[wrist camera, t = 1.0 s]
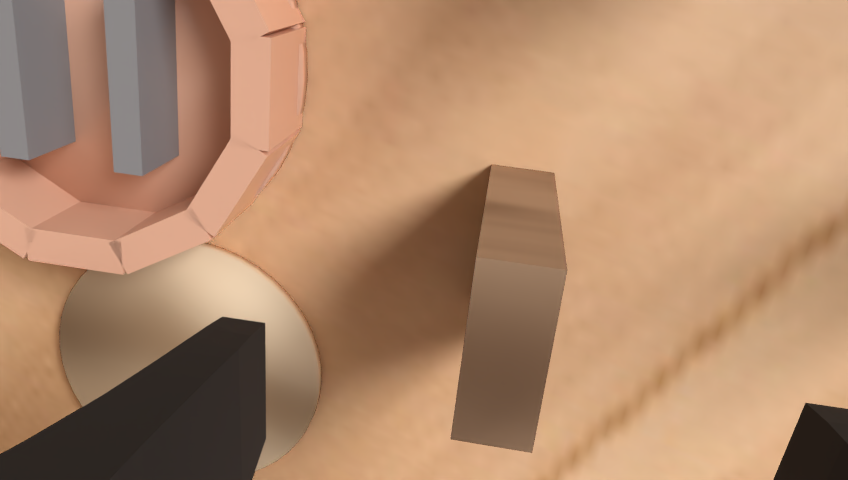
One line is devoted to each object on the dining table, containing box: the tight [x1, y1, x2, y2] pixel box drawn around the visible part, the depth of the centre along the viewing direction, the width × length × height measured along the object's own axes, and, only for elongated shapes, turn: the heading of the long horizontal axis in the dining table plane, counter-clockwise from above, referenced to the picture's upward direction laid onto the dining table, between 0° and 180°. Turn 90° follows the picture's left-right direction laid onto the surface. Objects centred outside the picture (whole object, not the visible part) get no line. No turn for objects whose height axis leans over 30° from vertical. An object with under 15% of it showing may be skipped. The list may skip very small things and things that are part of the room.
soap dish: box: [0, 0, 308, 275], centre depth 20 cm, size 11×11×3 cm
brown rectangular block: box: [451, 165, 567, 453], centre depth 18 cm, size 4×2×7 cm, turn 174°
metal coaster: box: [59, 243, 321, 471], centre depth 24 cm, size 9×9×1 cm
